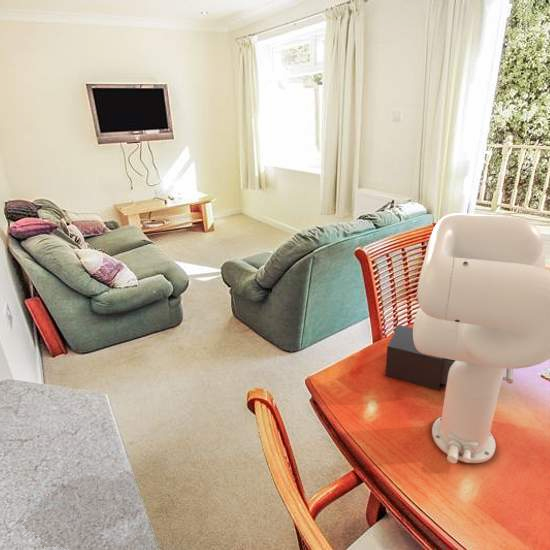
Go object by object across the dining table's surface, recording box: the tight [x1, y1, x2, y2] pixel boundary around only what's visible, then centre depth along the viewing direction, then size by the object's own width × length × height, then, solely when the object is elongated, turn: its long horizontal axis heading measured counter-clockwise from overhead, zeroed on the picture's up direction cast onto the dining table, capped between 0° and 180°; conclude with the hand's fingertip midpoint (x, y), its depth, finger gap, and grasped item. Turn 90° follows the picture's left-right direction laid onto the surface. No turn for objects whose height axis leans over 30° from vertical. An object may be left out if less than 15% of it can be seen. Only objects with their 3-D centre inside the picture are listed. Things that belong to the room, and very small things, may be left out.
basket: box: [440, 358, 514, 386], centre depth 97 cm, size 18×11×8 cm, turn 59°
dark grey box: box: [385, 324, 444, 391], centre depth 103 cm, size 14×12×10 cm
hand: (470, 350), depth 95 cm, fingers closed on onion, 6 cm apart
